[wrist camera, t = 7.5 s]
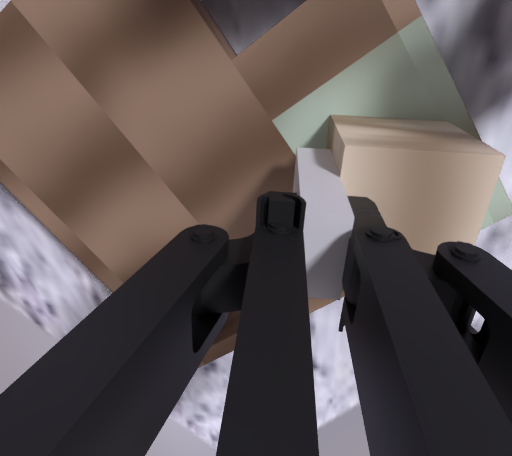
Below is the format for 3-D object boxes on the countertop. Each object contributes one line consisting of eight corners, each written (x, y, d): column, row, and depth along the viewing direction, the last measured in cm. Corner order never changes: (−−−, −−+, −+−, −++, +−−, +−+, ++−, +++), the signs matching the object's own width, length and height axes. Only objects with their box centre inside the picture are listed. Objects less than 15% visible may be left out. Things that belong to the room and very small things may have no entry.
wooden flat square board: (-41, 94, 20) (-81, 102, 18) (277, -244, 14) (274, -295, 12) (200, 342, 27) (192, 370, 25) (491, 192, 20) (515, 212, 18)
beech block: (317, 218, 19) (325, 275, 15) (330, 114, 17) (345, 145, 12) (420, 225, 19) (460, 286, 14) (448, 121, 17) (506, 155, 12)
